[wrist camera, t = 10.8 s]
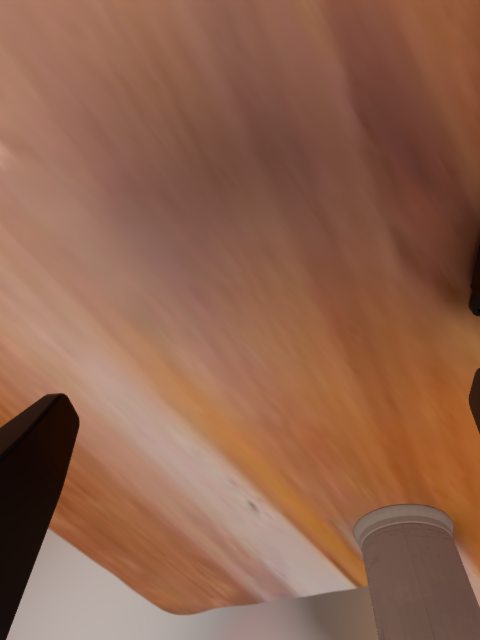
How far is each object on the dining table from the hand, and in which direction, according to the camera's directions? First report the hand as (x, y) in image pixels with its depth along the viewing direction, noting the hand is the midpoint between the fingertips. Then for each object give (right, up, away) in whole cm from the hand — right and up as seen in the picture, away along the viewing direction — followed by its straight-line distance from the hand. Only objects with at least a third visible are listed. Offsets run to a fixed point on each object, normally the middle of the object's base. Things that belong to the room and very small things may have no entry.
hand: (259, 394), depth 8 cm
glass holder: (+14, -20, +28) cm, 38 cm away
